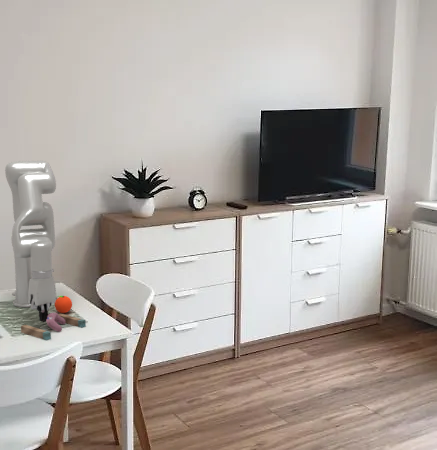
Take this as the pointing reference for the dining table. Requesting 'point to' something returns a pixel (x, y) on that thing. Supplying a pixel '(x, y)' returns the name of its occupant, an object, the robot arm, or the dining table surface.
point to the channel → (47, 335)
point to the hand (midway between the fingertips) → (43, 321)
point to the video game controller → (55, 321)
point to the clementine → (63, 304)
